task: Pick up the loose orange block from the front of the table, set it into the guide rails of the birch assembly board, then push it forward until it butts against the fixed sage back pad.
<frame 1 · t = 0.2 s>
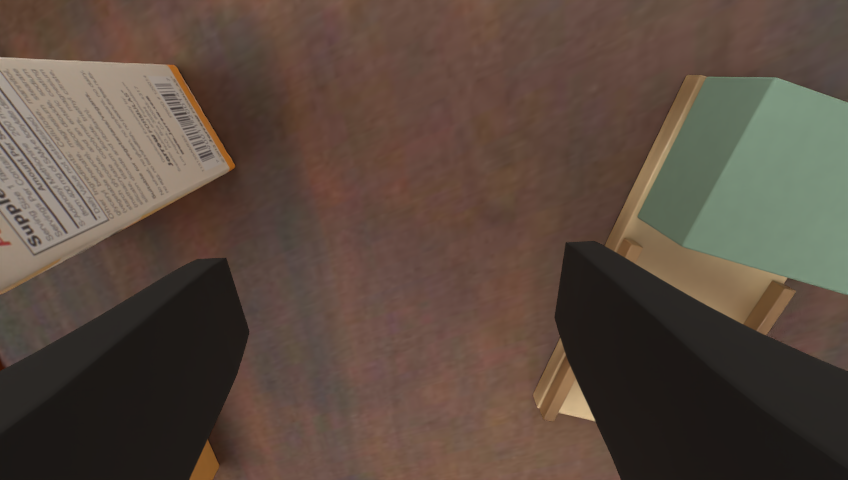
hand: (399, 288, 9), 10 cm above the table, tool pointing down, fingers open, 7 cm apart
assembly board: (676, 279, 21), on the table
supplement box: (134, 154, 19), on the table
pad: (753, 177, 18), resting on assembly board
orange block: (156, 425, 24), on the table
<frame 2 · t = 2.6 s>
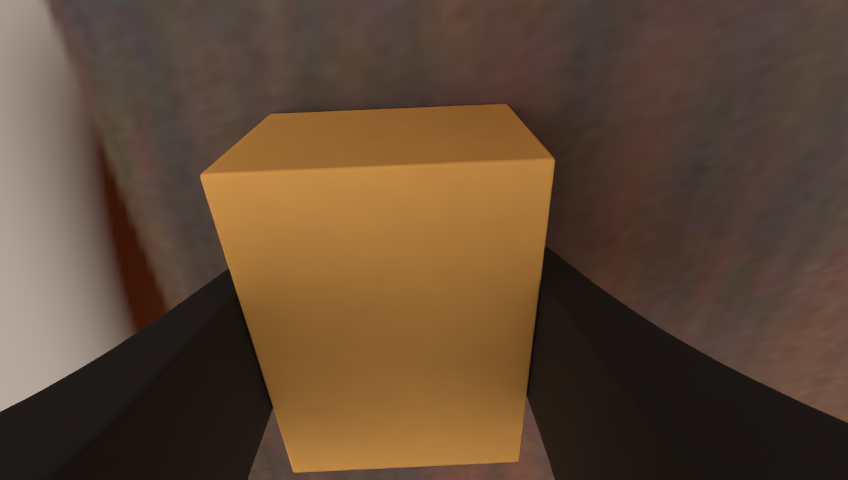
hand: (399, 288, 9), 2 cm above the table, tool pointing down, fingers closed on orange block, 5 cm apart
orange block: (399, 250, 11), on the table, touching gripper
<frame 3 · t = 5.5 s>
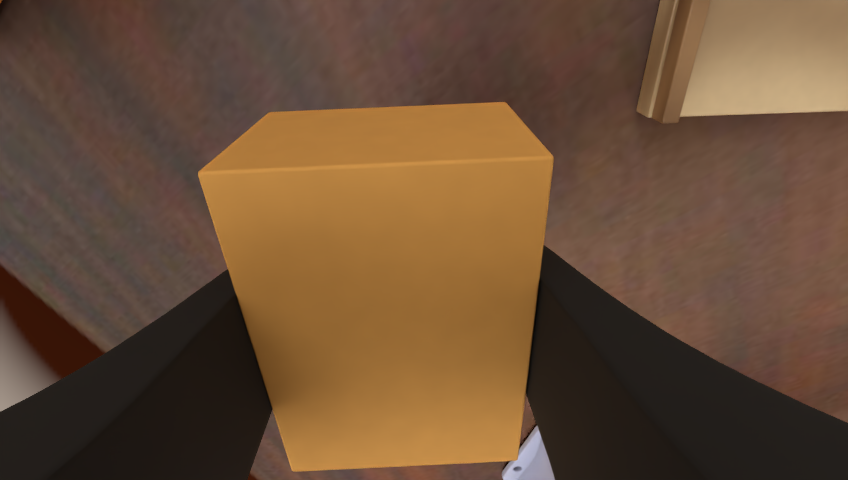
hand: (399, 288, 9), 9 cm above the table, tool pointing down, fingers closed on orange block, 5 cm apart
orange block: (398, 249, 11), point 7 cm above the table, touching gripper
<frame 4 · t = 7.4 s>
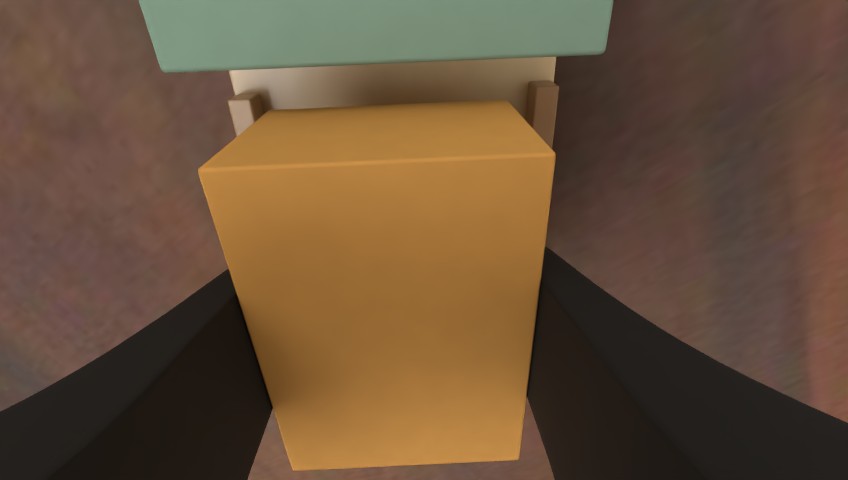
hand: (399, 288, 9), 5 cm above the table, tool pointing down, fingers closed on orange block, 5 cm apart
assembly board: (399, 132, 13), on the table
orange block: (399, 247, 11), point 4 cm above the table, touching gripper
when the fingers open (3 cm above the table, at t = 8.7 s): orange block stays where it is, resting on assembly board.
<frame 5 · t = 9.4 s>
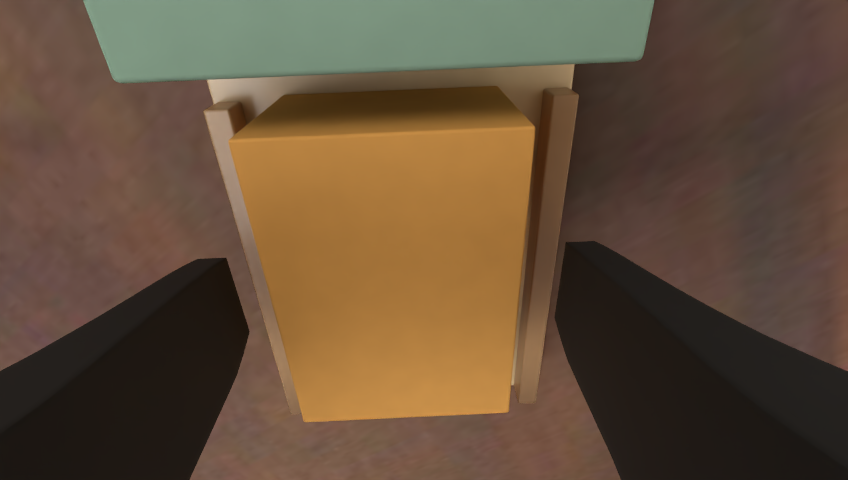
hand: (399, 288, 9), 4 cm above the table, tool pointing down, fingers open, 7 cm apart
assembly board: (397, 144, 12), on the table
orange block: (400, 223, 12), point 1 cm above the table, touching assembly board
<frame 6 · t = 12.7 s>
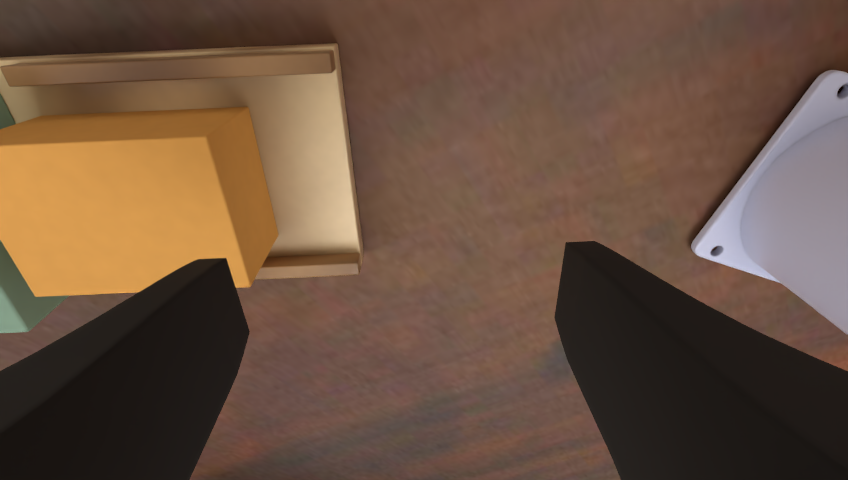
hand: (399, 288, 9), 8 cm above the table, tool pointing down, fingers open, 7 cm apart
assembly board: (132, 171, 17), on the table
orange block: (169, 180, 16), point 1 cm above the table, touching assembly board
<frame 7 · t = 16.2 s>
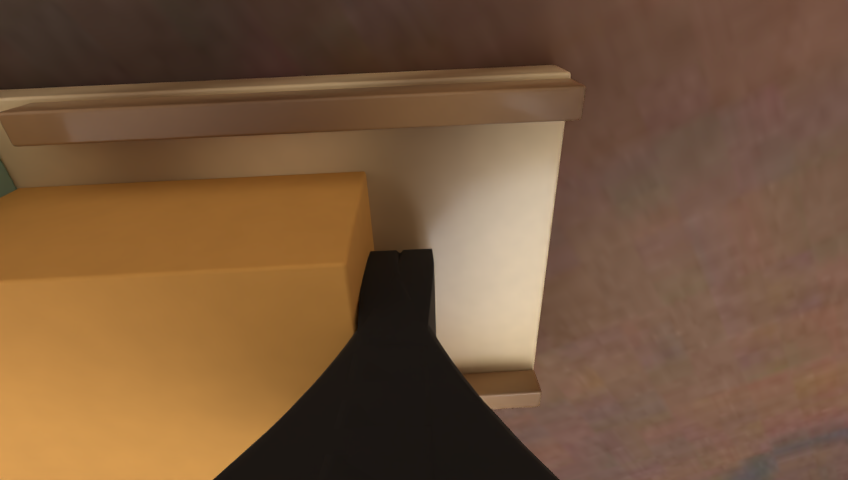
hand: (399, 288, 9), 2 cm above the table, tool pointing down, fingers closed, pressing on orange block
assembly board: (200, 257, 11), on the table
orange block: (226, 279, 10), point 1 cm above the table, touching assembly board, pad, gripper
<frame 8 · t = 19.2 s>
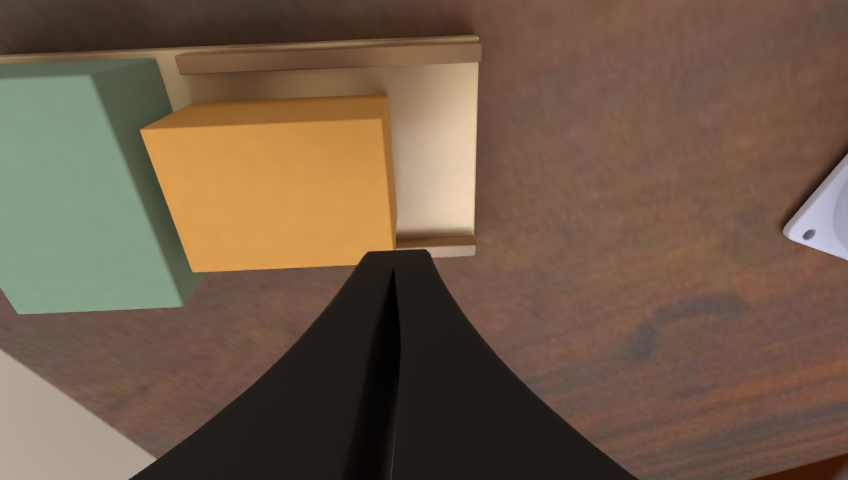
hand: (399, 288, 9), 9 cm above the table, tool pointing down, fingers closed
assembly board: (264, 157, 17), on the table
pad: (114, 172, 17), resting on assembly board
orange block: (302, 164, 17), point 1 cm above the table, touching assembly board
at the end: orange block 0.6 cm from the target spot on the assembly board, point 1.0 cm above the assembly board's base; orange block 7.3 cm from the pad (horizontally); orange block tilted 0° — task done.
